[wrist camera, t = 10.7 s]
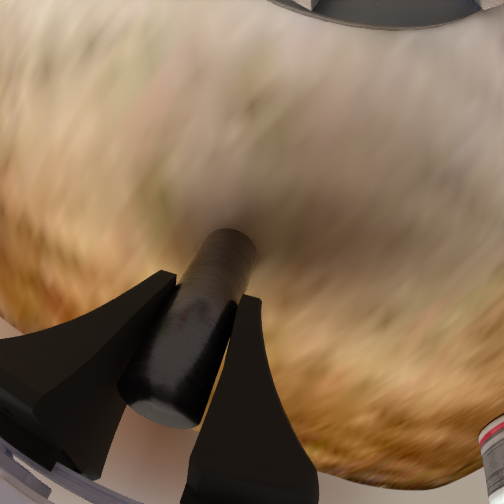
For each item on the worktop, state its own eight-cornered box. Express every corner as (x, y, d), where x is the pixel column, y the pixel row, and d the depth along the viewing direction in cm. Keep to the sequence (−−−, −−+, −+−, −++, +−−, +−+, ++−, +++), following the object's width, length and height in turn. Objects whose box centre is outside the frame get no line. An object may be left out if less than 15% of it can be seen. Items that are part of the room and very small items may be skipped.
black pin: (263, 271, 14) (215, 431, 8) (214, 279, 15) (145, 424, 8) (246, 223, 13) (175, 376, 7) (196, 234, 14) (100, 373, 7)
